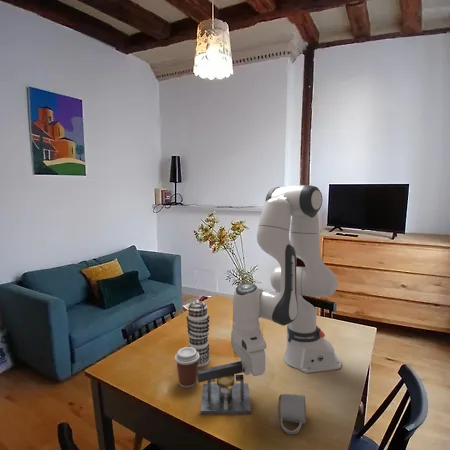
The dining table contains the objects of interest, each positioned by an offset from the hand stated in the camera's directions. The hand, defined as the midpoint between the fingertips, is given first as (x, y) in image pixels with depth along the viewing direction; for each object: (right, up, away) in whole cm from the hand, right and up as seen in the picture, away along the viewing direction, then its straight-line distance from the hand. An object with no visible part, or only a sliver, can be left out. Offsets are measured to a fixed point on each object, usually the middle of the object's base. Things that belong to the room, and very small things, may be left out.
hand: (246, 373), depth 110 cm
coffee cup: (-21, -9, +12) cm, 25 cm away
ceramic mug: (+14, -11, -9) cm, 20 cm away
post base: (-7, -10, +2) cm, 12 cm away
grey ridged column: (-18, -7, +25) cm, 32 cm away
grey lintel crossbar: (-7, -3, +1) cm, 8 cm away
